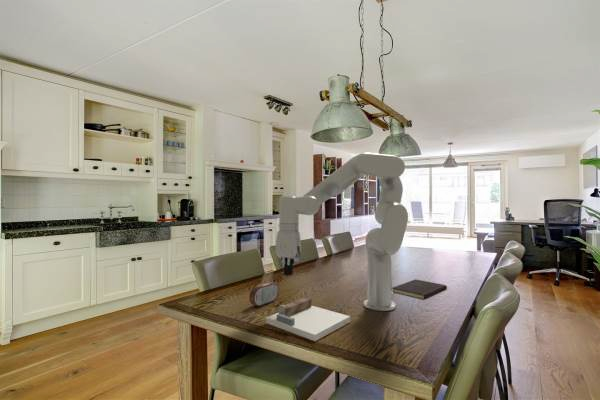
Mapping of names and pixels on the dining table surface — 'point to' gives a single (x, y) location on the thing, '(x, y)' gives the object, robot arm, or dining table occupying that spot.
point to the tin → (264, 293)
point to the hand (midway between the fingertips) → (288, 274)
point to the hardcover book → (419, 288)
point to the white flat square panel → (310, 322)
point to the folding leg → (295, 307)
